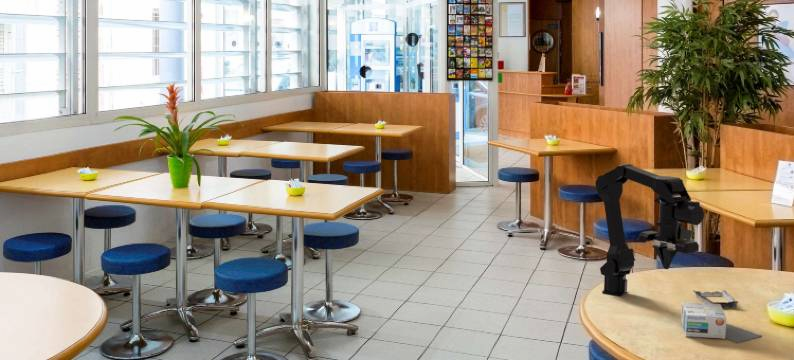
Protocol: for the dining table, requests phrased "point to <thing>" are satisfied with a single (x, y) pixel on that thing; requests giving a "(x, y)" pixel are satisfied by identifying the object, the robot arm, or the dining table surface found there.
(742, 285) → the dining table surface
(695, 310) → the light bulb box
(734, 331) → the rubber mat
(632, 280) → the dining table surface
